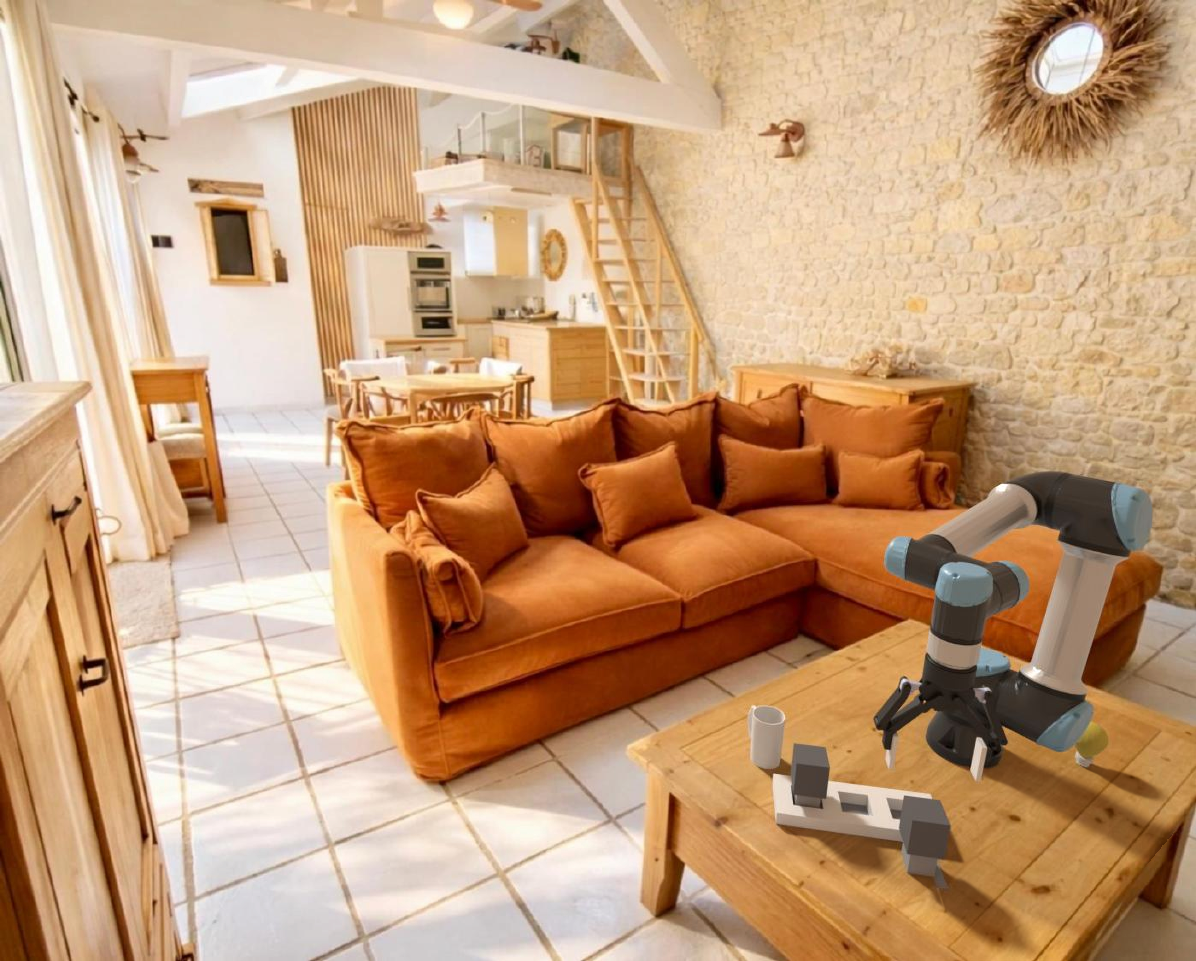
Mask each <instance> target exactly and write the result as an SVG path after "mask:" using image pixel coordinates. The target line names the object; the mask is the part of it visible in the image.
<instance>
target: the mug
mask: <svg viewBox="0 0 1196 961" xmlns="http://www.w3.org/2000/svg"><path fill="white" fill-rule="evenodd" d="M785 724H786V715H785V713H784V712H783V711H782V710H781V709H780V708H779V707H775V706H772V705H765V704H764V705H757V706H756V705H755V704H753V705H751V706H750V709H749V712H748V713H747V730H748V732H747V733H748V737H749V739H750V751H749V752H750V754H749V755H750V756H749V757H750V758H749V759H750V761H751V763H752V764H753V765H755V766H757V767H759V768H760V769H764V770H765V769H766V770H773V769H776V768H777V767H779V766H780V763H781V759H782V758H781V757H782V750H783V749H782V748H783V741H784V734H785V726H786V725H785Z"/></svg>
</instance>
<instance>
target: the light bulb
mask: <svg viewBox="0 0 1196 961" xmlns="http://www.w3.org/2000/svg"><path fill="white" fill-rule="evenodd" d="M1108 745H1109V736H1108V733H1107V732H1106V730H1105V729H1104V728H1103V727H1102V726H1101V725H1099V724H1098V723H1096V722H1094V721H1092V720H1091V721H1090V723H1089V725H1088V727H1087V729H1086V731H1085V732H1084V734H1083V735H1082V737H1081V738H1080V739H1079V740H1078V742H1077V743H1076V744H1075V745H1074V746H1073V747H1074V748H1075V749H1076V751H1075V754H1074V758H1075V759H1076V764H1077V763H1078V764H1077V765H1079V766H1080V765H1081V766H1080V767H1083V766H1084V768H1089V767H1090V765H1091V764H1093V763H1094V757H1095V756H1097V755H1099V754H1100V753H1102V752H1103V751H1104V750H1106V749H1107V747H1108Z"/></svg>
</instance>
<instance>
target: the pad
mask: <svg viewBox="0 0 1196 961" xmlns="http://www.w3.org/2000/svg"><path fill="white" fill-rule="evenodd" d="M942 871H943V870H942V868H941V865H940V862H939V859H937V864H936V870H935V876H934V878H933V881H934V883H935V887H936V888H939V889H944V890H948V889H949V887H948V884H947V881H946V880H945V877H944V873H943V872H942Z"/></svg>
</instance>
